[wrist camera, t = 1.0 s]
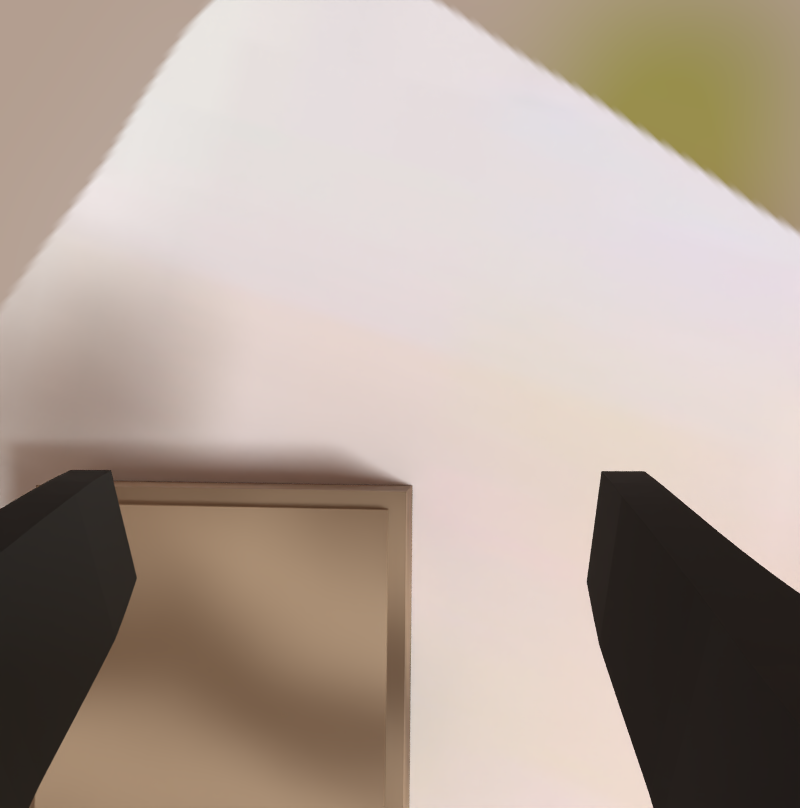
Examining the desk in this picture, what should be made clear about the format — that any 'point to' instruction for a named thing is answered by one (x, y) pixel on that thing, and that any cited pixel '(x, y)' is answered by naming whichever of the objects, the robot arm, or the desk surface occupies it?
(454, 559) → the desk surface
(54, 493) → the robot arm
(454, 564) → the desk surface
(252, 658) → the walnut base
